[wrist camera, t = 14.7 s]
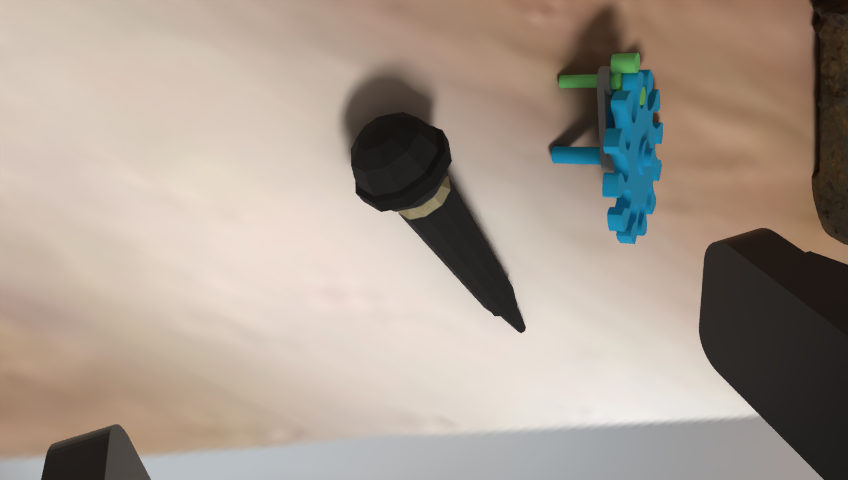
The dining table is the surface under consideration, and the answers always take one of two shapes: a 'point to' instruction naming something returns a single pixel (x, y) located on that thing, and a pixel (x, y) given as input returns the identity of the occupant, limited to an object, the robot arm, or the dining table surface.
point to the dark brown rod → (833, 119)
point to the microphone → (429, 203)
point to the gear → (622, 141)
